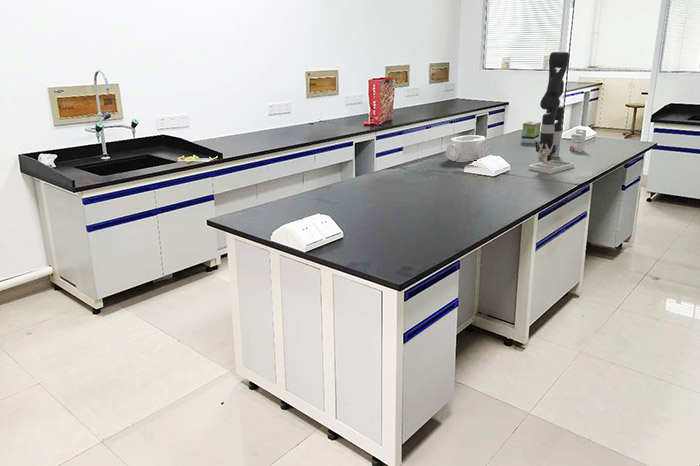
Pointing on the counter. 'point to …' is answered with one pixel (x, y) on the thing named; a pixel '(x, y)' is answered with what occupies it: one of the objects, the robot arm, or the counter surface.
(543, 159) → the beech letter block
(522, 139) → the tea box
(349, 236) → the counter surface
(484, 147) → the housing
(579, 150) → the ink cartridge box
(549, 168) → the divider frame
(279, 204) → the counter surface
